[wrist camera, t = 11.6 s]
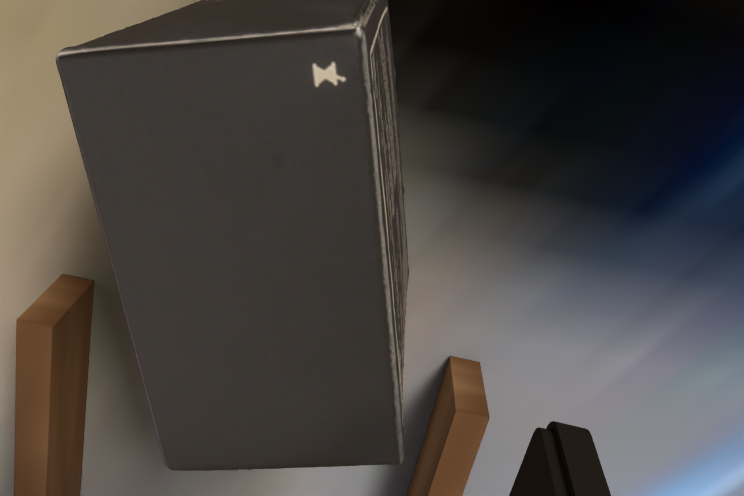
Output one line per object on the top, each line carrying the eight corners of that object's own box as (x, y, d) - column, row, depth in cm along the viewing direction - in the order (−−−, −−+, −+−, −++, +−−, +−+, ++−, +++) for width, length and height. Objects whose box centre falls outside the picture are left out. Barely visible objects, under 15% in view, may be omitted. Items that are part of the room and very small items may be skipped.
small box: (186, -5, 23) (28, 41, 13) (388, -25, 22) (377, 8, 13) (241, 288, 27) (152, 483, 17) (412, 277, 27) (417, 471, 17)
